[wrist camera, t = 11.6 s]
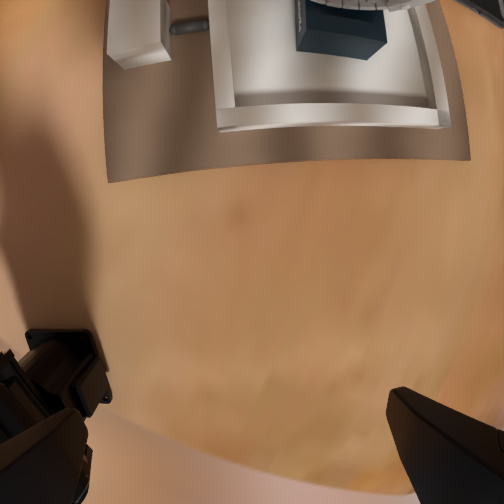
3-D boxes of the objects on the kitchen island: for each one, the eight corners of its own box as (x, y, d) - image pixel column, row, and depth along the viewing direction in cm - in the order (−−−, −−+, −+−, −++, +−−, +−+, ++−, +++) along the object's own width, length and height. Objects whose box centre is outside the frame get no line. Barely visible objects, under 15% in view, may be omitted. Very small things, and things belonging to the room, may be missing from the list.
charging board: (114, 182, 19) (86, 184, 15) (116, -38, 15) (99, -65, 11) (462, 160, 19) (497, 160, 15) (416, -39, 15) (437, -61, 11)
